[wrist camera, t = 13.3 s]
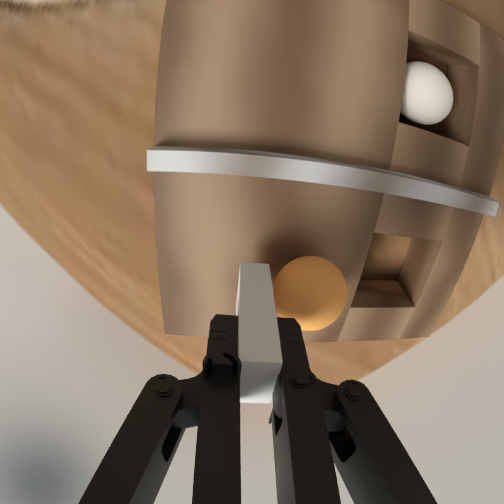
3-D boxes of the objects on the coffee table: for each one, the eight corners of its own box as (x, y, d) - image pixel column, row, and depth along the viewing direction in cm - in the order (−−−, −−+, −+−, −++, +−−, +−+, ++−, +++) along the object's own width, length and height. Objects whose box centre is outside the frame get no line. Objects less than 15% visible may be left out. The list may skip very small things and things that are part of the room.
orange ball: (274, 348, 15) (342, 343, 15) (295, 289, 12) (371, 288, 13) (259, 296, 18) (319, 296, 19) (273, 239, 16) (339, 243, 17)
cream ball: (388, 119, 17) (387, 114, 13) (391, 64, 15) (390, 48, 12) (444, 132, 15) (456, 131, 12) (448, 76, 13) (459, 63, 10)
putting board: (173, 302, 23) (161, 345, 18) (188, -31, 11) (172, -64, 7) (413, 310, 24) (434, 346, 20) (479, 45, 12) (521, 45, 8)
